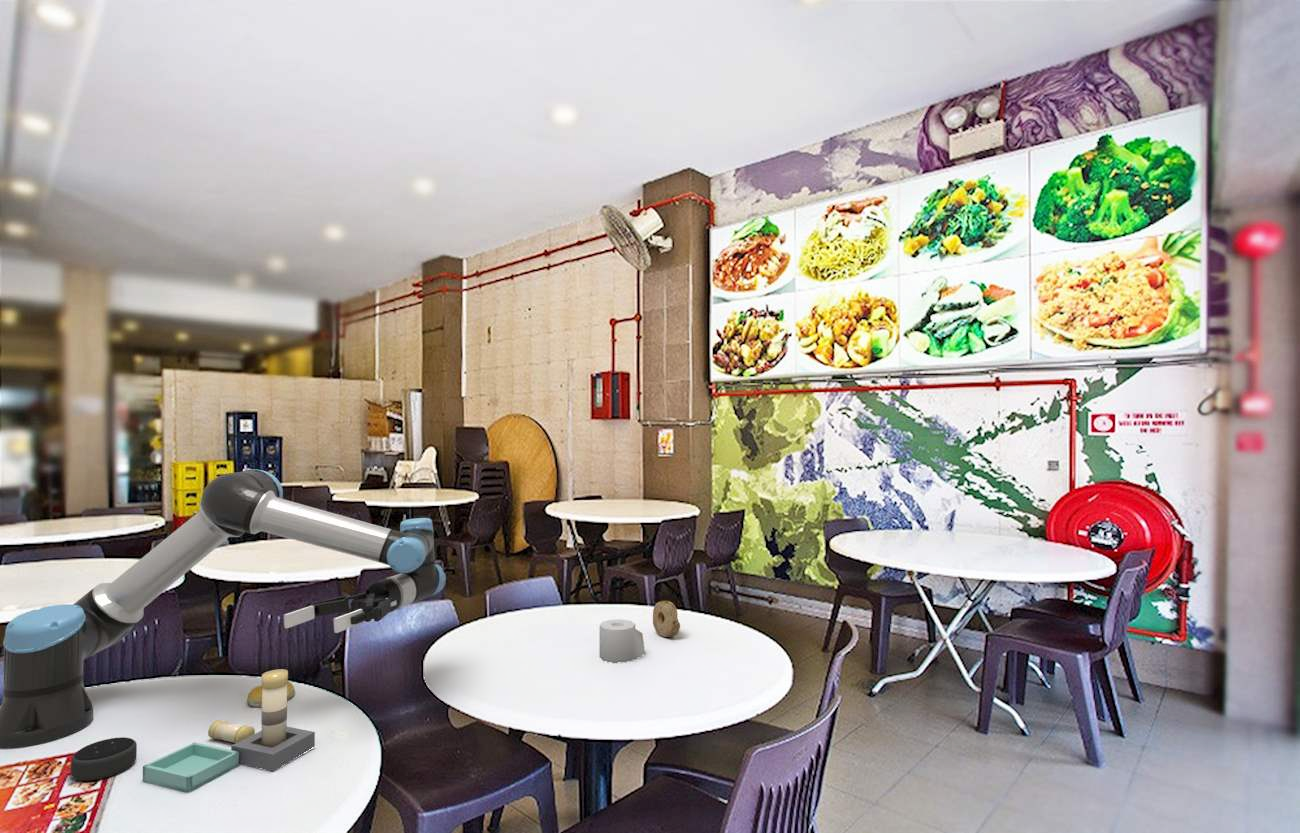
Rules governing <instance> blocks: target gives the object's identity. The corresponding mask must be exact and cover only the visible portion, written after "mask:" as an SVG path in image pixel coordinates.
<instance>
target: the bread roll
mask: <svg viewBox="0 0 1300 833" xmlns="http://www.w3.org/2000/svg"><path fill="white" fill-rule="evenodd" d="M295 690H296V689H295V686H294V685H293V684H292V683H291V682H290V681H289V680H288V683H287V701H289V700H290V699H292V698H293V697H294V696H295V693H296V691H295ZM246 701H247V703H248V705H249V706H250V707H252V706H253V708H262V685H259V686H256V687H254V688H252V690H250V691H249V693H248V695H247V697H246Z"/></svg>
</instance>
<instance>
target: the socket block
mask: <svg viewBox="0 0 1300 833" xmlns="http://www.w3.org/2000/svg"><path fill="white" fill-rule="evenodd" d="M261 735H262V730H260V731H258V732H255V734H254V735H252V736H250V737H248V738H246V739H244V740H241V741H239V742H237V743H234V744H232V745H231V746H230V747H231V748H230V750H233V751H237V752H239V765H242V766H245V765H246V767H250V766H253V767H252V768H254V767H257V768H256V769H258V768H262V769H261V770H263V769H266V770H265V771H267V770H270V771H269V772H272V771H274V770H275V771H277V770H279V769H280V767H281V766H282V765H284V764H286V763H287V764H289V763H290V762H289V761H291V760H293V759H294V758H296V757H298V756H299V755H301V754H303V753H304V752H306V751H308V750H309V749H311V748H312V747H314V746H316V745H315V743H316V742H315V740H316V739H315V738H316V737H315V735H316V732H315V731H314V730H313V731H312V730H307V729H301V728H296V727H292V726H286V741H284V742H282V743H280V744H278V745H276V746H275V747H273V748H271V747H266V746H262V745H261ZM308 752H309V751H308ZM303 755H304V754H303ZM301 756H302V755H301ZM298 758H299V757H298ZM296 759H297V758H296ZM294 760H295V759H294ZM294 760H293V761H294ZM288 762H289V763H288ZM291 762H292V761H291ZM287 764H286V765H287ZM284 766H285V765H284ZM282 767H283V766H282ZM282 767H281V768H282ZM278 768H279V769H278ZM276 769H277V770H276ZM275 771H274V772H275Z"/></svg>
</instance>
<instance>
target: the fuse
mask: <svg viewBox="0 0 1300 833" xmlns="http://www.w3.org/2000/svg"><path fill="white" fill-rule="evenodd" d="M254 734H256V730H255V728H254V726H251V725H246V724H244V725H241V724H235V723H230V722H228V721H226V720H222V719H221V720H220V719H218V720H215V721H213V722H212V723H211V725H210V726H209V729H208V731H207V735H208V737H209V738H211V739H215V740H220V741H224V742H229V743H234V744H235V743H237V742H239V741H241V740H244V739H246V738H248V737H250V736H252V735H254Z"/></svg>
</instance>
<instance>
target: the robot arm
mask: <svg viewBox="0 0 1300 833" xmlns="http://www.w3.org/2000/svg"><path fill="white" fill-rule="evenodd" d="M201 494H202V495H201V498H200V502H199V505H198V506H199V507H198V508H199V511H198V512H196V514H194V515H193V516H191V518H189V519H188V520H187V521H186V522H184V523H183V524H182V525H181V526H179V527H178V528H176V530H174V531H173V532H172V533H170V534H169V535H168V536H167V537H166V538H165V539H163V540H162V541H161V542H160V543H159V544H157V545H156V546H155V547H153V548H152V549H151V550H150V551H149V552H148V553H146V554H145V555H144V556H143V557H141V558H140V559H139V560H138V561H137V562H135V563H134V564H133V565H131V566H130V567H129V568H128V569H126V570H125V571H124V572H123V573H121V574H120V575H119V576H118V577H117V578H116V579H114V580H113V581H112V582H102V583H99V584H97V585H95V586H94V587H93V588H92V589H91V590H89V591H88V592H87V593H86V594H84V595H83V596H82V597H81V598H79V599H78V600H77V601H75V602H74V603H73V604H71V603H70V604H69V603H67V604H65V603H64V604H55V605H49V606H44V607H40V608H39V609H32V610H30V611H26V612H24V613H21V614H20V615H17V616H16V617H14V618H13V619H11V620H10V621H9V622H8V624H7V625H6V627H5V632H4V637H3V643H2V645H3V695H2V696H3V698H2V701H1V704H0V748H3V749H4V748H5V749H6V748H7V749H11V748H12V749H13V748H20V747H28V746H33V745H34V746H35V745H39V744H44V743H47V742H51V741H54V740H58V739H61V738H64V737H67V736H69V735H71V734H74V733H76V732H79V731H80V730H82V729H85V728H86V727H87V726H89V725H90V724H92V722H93V720H94V706H93V704H92V701H91V699H90V696H89V694H88V692H87V690H86V688H85V686H84V661H85V660H86V659H88V658H90V657H92V656H93V655H96V654H97V653H99V652H101V651H103V650H105V649H108V648H110V647H112V646H114V645H116V644H118V643H120V641H122V640H123V639H124V638H125V637H126V636H127V635H128V634H129V633H130V631H131V630H132V629H133V627H134V626H135V625H136V624H137V623H138V622H140V621H141V620H142V619H143V617H144V615H145V614H144V611H145V610H144V608H145V607H147V606H149V604H151V603H152V602H153V601H154V600H155V599H156V598H158V596H160V595H162V593H164V592H165V591H166V590H168V588H170V587H171V586H172V585H173V584H175V583H176V582H177V581H178V580H179V579H180V578H182V577H183V576H184V575H186V573H188V572H189V571H191V569H193V568H194V567H195V566H196V565H197V564H198V563H200V562H201V561H202V560H203V559H205V558H206V557H207V556H209V554H211V553H212V552H213V551H215V549H217V547H219V546H220V545H222V544H223V543H224V542H225V541H226V540H227V539H228V538H238V537H239V538H240V537H242V536H243V535H244V534H245V533H248V534H252V535H256V534H258V533H260V532H264V533H268V534H270V535H271V534H272V535H275V536H279V537H281V538H287V539H291V540H294V541H297V542H301V543H305V544H309V545H312V546H316V547H320V548H324V549H328V550H332V551H335V552H339V553H343V554H346V555H351V556H354V557H358V558H360V559H361V558H362V559H365V560H369V561H373V562H375V563H380V564H383V565H387V566H389V567H390V569H392V570H393V571H394V572H396V573H398V574H395V575H392V576H388V577H386V578H384V579H380V580H378V581H374V582H372V583H371V584H369V586H368V587H367V589H366V591H365V592H360V593H357V594H354V593H352V592H350V593H348V594H344V595H342V596H336V597H332V598H327V599H322V600H317V601H314V602H313V601H312V602H307V603H305V607H303V608H299V609H297V610H294V611H291V612H288V613H285V614H283V624H284V629H290V628H292V627H295V626H297V625H300V624H303V623H306V622H309V621H311V622H313V621H314V620H315V618H316V617H320V616H328V615H332V614H338V613H345V614H342V615H340V616H337V617H333V633H335V634H338V633H341V632H344V631H346V630H348V629H350V628H353V627H355V626H359V625H362V624H363V623H364V622H365V623H370V622H371V621H372V620H373V621H374V622H379V621H381V620H382V619H384V618H385V617H386V616H387V615H388V614H390V613H393V612H394V611H396V610H398V611H401V610H403V608H404V607H407V606H410V605H412V604H413V603H417V602H419V601H422V600H425V599H429V598H431V597H432V596H434V595H436V594H438V593H439V592H441V591H442V590H443V589H444V587H445V585H446V581H447V578H446V573H445V572H444V569H443V567H441V566H440V565H439V564H438V563H436V560H435V538H434V536H435V535H434V533H435V531H434V526H433V525H434V524H433V520H432V519H431V518H430V517H418V518H407V519H404V520H403V521H401V522H400V524H399V525H400V526H399V529H400V530H394V529H392V528H389V527H384V526H381V525H377V524H374V523H373V524H372V523H369V522H367V521H362V520H358V519H356V518H352V517H350V516H349V517H348V516H345V515H341V514H338V513H334V512H331V511H327V510H322V509H320V508H316V507H313V506H310V505H309V506H308V505H306V504H302V503H300V502H294V501H291V500H288V499H285V498H283V497H284V496H283V495H284V489H283V486H282V484H281V482H280V481H279V480H278V478H277V477H276V476H275V475H274V474H272V473H271V472H268V471H265V470H261V469H255V468H253V469H245V470H243V471H238V472H229V473H225V474H222V475H219V476H218V477H216V478H214V479H211V481H210V482H209V483H208V484H207V485H206V487H205V488H204V490H203V492H202V493H201Z"/></svg>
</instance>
